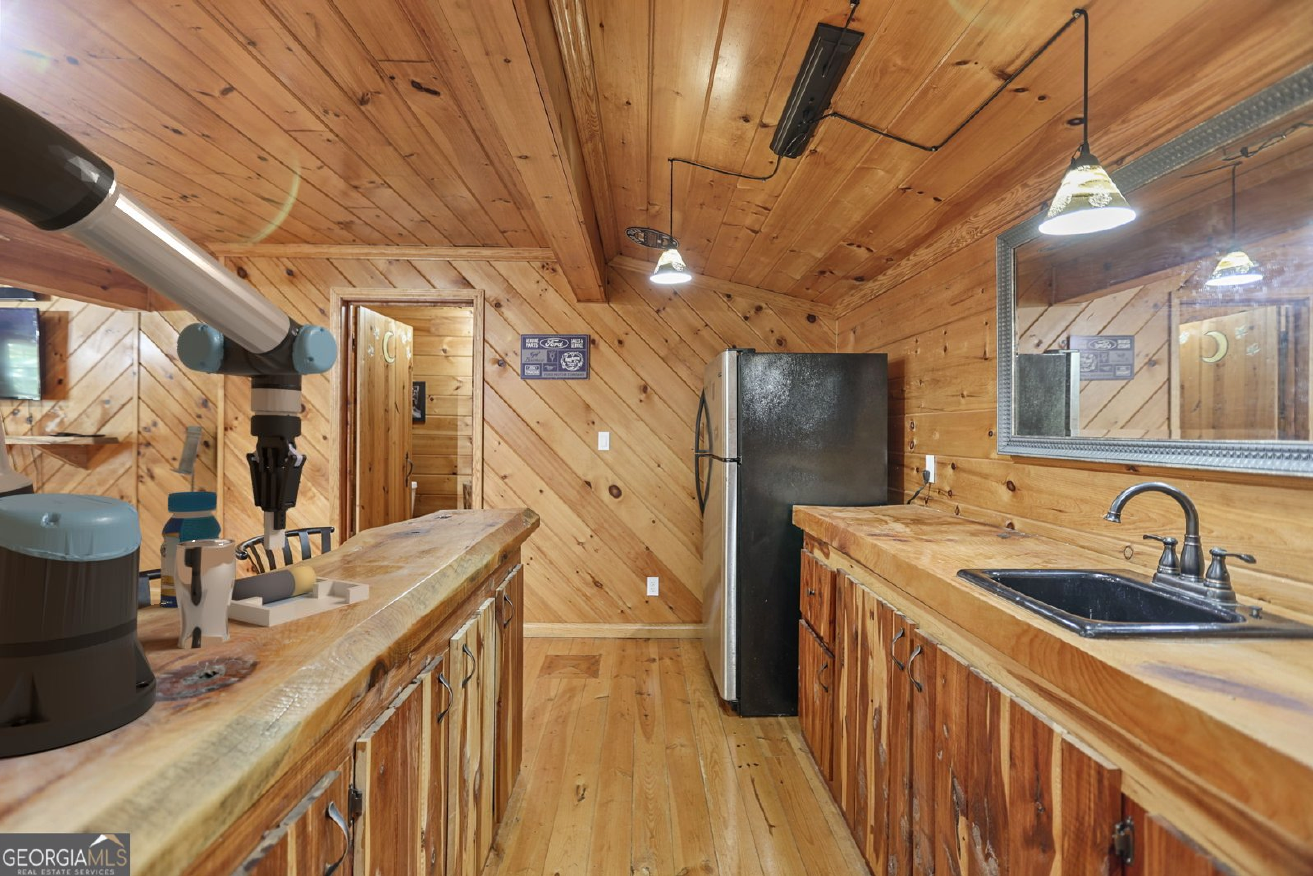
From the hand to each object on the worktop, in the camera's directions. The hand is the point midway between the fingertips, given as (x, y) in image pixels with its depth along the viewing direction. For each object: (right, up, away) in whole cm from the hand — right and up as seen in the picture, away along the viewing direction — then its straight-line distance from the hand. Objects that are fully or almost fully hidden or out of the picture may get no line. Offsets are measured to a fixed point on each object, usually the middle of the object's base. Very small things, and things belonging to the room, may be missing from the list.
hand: (274, 547), depth 103 cm
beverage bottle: (-14, -10, -1) cm, 18 cm away
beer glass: (+3, -11, -20) cm, 23 cm away
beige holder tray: (+4, -11, -2) cm, 11 cm away
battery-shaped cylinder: (0, -9, 0) cm, 9 cm away
